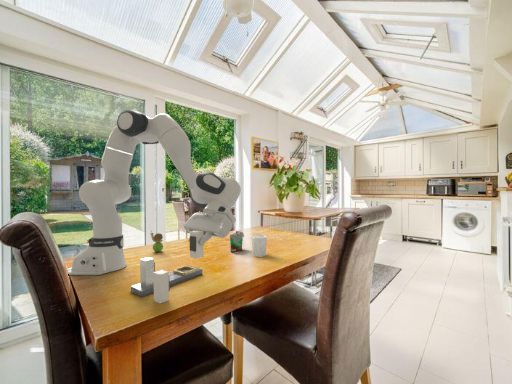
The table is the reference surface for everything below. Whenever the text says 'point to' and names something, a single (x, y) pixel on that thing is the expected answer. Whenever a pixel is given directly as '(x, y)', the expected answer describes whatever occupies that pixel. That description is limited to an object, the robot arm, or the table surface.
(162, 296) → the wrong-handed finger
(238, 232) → the food container
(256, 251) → the white cup
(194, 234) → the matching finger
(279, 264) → the table surface
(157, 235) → the snail figurine
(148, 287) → the rail
